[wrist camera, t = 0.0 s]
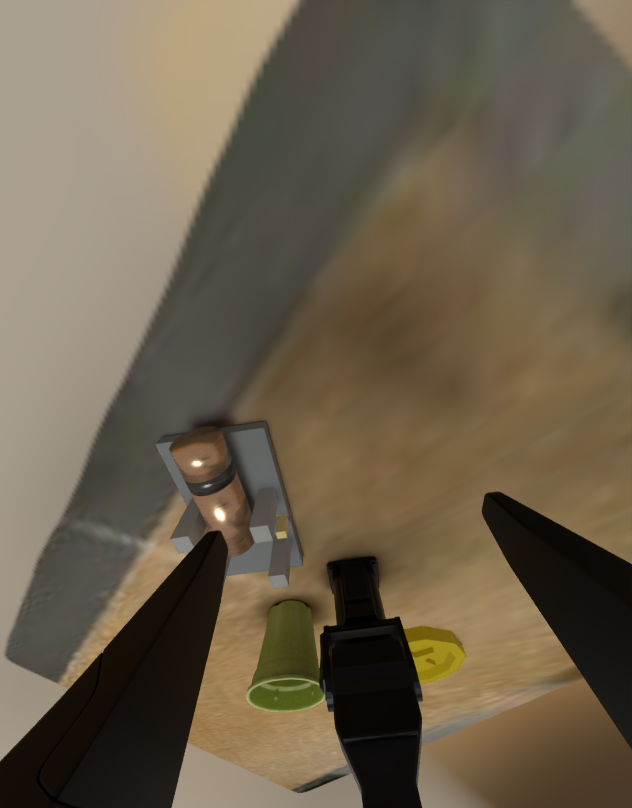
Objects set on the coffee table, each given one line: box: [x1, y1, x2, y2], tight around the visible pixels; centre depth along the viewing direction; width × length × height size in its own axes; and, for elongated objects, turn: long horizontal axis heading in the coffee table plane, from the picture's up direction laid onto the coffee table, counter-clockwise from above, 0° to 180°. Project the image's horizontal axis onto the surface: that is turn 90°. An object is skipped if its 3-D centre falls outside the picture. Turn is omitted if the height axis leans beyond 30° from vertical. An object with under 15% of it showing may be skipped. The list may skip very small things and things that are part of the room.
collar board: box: [155, 421, 303, 588], centre depth 25 cm, size 20×10×6 cm, turn 9°
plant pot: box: [246, 600, 325, 712], centre depth 33 cm, size 9×9×9 cm
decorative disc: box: [404, 626, 466, 684], centre depth 44 cm, size 17×18×2 cm
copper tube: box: [169, 426, 255, 557], centre depth 23 cm, size 12×4×4 cm, turn 9°
